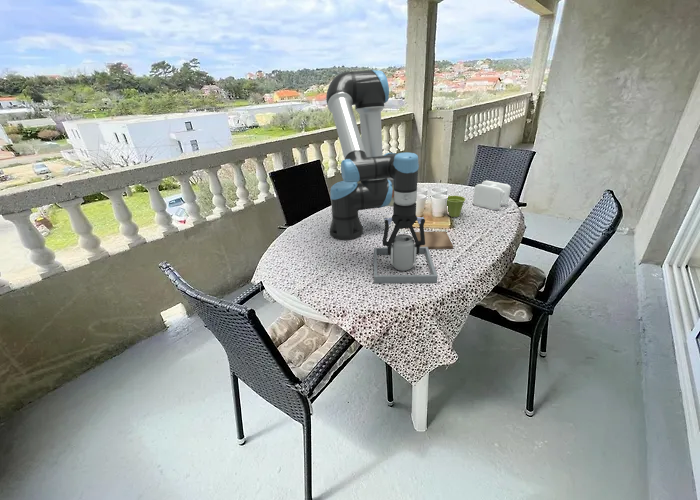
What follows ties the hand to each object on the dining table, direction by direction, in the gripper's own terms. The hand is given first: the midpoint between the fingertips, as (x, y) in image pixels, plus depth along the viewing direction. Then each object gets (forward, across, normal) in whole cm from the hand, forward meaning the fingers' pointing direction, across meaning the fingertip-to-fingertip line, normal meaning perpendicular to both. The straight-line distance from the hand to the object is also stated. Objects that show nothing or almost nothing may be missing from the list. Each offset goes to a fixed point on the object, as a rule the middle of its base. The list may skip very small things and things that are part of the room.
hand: (402, 261), depth 114 cm
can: (+2, 0, 0) cm, 2 cm away
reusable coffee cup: (+2, -1, +68) cm, 68 cm away
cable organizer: (+2, +50, +60) cm, 78 cm away
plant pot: (+2, +29, +48) cm, 56 cm away
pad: (+2, +14, +20) cm, 25 cm away
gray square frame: (+2, 0, 0) cm, 2 cm away
